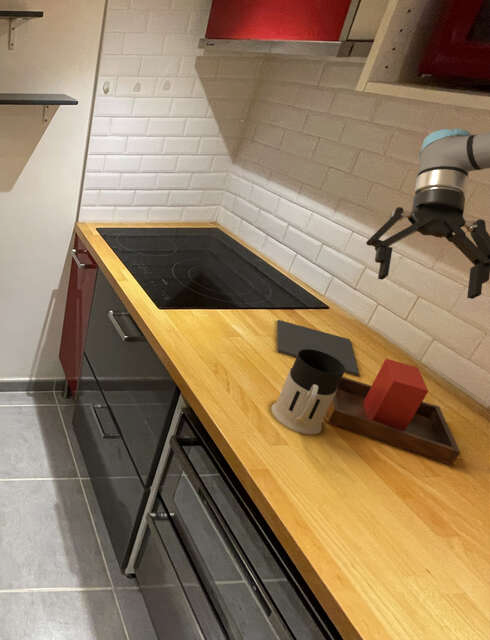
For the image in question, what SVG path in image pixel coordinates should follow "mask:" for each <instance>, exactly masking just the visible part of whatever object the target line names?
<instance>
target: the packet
mask: <svg viewBox="0 0 490 640" xmlns="http://www.w3.org/2000/svg"><path fill="white" fill-rule="evenodd" d="M428 393H429V389H428V387H427V385H426V382H425V380H424V377H423V376H422V373H421V371H420V369H419V367H417V366H414V365H411V364H407V363H405V362H404V363H403V362H400V361H396V360H393V359H390V358H385V359H384V361H383V363H382V365H381V367H380V369H379V371H378V373H377V375H375V378H374V380H373V382H372V384H371V388H370V390H369V392H368V394H367V396H366V398H365V399H364V401H363V403H364V407H365V411H366V415H367V419H370V420H373V421H376V422H379V423H382V424H385V425H388V426H391V427H393V428H396V429H399V430H402V431H405V430H406V428H407V426H408V425H409V423H410V421H411V420H412V418H413V416H414V415H415V413H416V411H417V410H418V408H419V406H420V404H421V403H422V401H423V402H424V400H425V398H426V396H427V394H428Z"/></svg>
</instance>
